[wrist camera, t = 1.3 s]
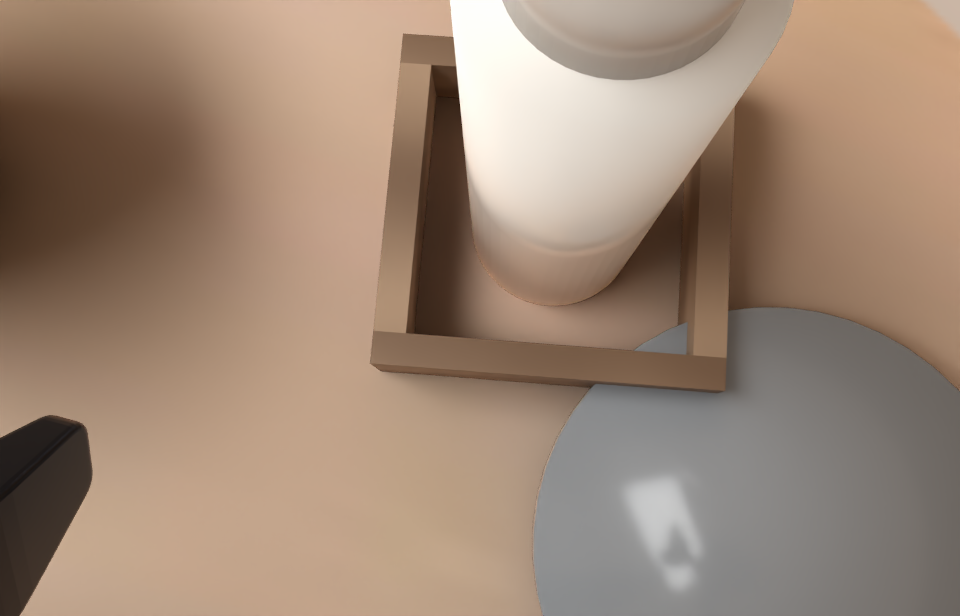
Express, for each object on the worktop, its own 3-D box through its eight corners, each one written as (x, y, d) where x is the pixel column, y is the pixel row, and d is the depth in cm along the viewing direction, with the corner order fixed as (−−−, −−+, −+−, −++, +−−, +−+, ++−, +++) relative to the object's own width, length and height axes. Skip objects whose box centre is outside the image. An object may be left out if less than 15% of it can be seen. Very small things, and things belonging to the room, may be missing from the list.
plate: (1010, 821, 21) (1040, 844, 20) (515, 776, 21) (516, 795, 20) (1001, 332, 23) (1028, 325, 22) (548, 298, 23) (550, 289, 22)
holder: (705, 396, 23) (725, 390, 21) (380, 371, 23) (370, 363, 21) (717, 87, 24) (736, 55, 22) (410, 67, 25) (403, 33, 23)
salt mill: (629, 311, 23) (842, 86, 9) (465, 299, 24) (422, 59, 9) (637, 154, 24) (847, -282, 10) (478, 144, 24) (457, -304, 10)
